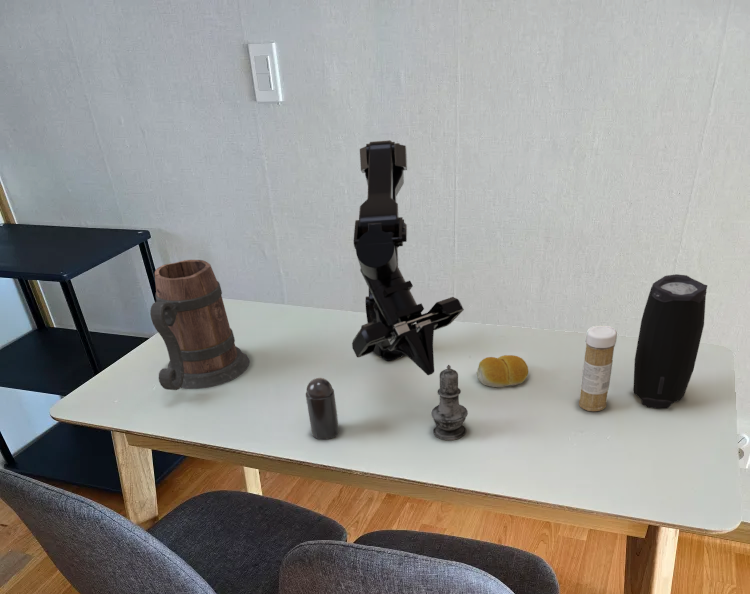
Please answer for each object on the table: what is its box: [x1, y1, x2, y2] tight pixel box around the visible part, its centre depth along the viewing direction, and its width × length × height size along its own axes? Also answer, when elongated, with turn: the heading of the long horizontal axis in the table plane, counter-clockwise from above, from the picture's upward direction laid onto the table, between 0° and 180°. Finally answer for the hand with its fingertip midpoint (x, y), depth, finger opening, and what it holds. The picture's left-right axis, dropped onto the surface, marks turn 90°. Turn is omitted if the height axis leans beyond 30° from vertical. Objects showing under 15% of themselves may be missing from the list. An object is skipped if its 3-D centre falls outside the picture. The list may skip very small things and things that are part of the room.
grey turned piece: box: [430, 364, 469, 441], centre depth 110 cm, size 6×6×12 cm
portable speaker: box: [632, 273, 708, 410], centre depth 111 cm, size 9×9×20 cm
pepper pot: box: [305, 377, 340, 441], centre depth 113 cm, size 5×5×10 cm
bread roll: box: [476, 354, 529, 388], centre depth 125 cm, size 8×9×4 cm
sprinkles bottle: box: [578, 325, 618, 412], centre depth 112 cm, size 5×5×13 cm
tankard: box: [149, 259, 251, 391], centre depth 130 cm, size 24×17×20 cm
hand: (431, 373), depth 111 cm, fingers closed
